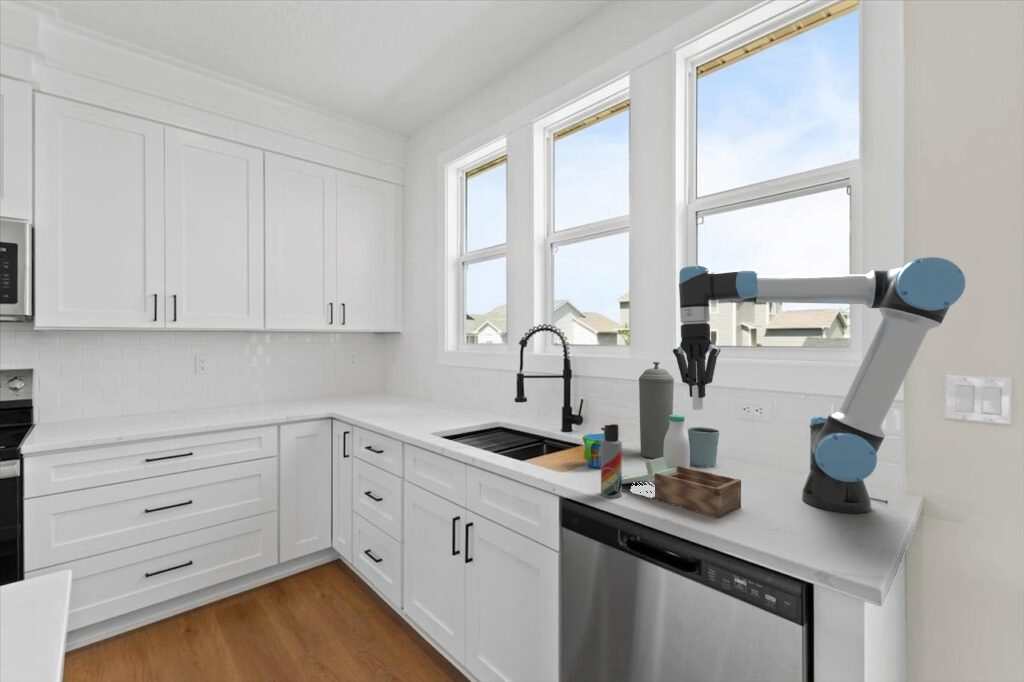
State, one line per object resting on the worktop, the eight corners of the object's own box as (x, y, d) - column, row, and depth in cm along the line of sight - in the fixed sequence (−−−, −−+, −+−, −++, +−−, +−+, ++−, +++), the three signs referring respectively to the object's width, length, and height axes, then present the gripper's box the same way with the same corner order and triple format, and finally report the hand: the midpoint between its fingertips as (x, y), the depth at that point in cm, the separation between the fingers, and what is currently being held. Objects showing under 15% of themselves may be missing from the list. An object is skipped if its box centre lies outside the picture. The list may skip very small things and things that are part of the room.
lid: (676, 472, 139) (671, 455, 140) (656, 478, 133) (651, 461, 134) (632, 478, 151) (628, 463, 152) (612, 485, 144) (608, 468, 145)
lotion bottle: (609, 499, 132) (609, 426, 132) (596, 493, 137) (597, 423, 137) (625, 496, 135) (626, 424, 135) (612, 490, 140) (612, 421, 140)
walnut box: (741, 507, 126) (741, 480, 126) (718, 518, 119) (718, 489, 119) (678, 490, 140) (678, 465, 140) (654, 499, 132) (654, 473, 132)
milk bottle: (691, 484, 146) (691, 417, 146) (664, 482, 148) (665, 417, 147) (687, 476, 154) (687, 413, 153) (662, 475, 155) (662, 413, 155)
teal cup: (682, 460, 174) (682, 427, 173) (709, 459, 175) (709, 426, 175) (696, 468, 164) (696, 432, 163) (725, 467, 165) (725, 432, 164)
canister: (650, 450, 189) (650, 360, 189) (680, 456, 180) (680, 361, 179) (631, 455, 181) (631, 361, 180) (662, 462, 171) (662, 363, 171)
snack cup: (599, 459, 175) (599, 431, 175) (624, 464, 168) (624, 435, 168) (572, 467, 164) (572, 437, 164) (597, 473, 157) (597, 442, 157)
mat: (676, 489, 141) (676, 488, 141) (650, 498, 133) (650, 498, 133) (627, 476, 154) (627, 475, 154) (601, 484, 146) (601, 483, 146)
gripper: (666, 324, 135) (669, 409, 135) (711, 321, 125) (714, 413, 125) (680, 324, 140) (683, 406, 140) (724, 322, 130) (727, 409, 130)
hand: (697, 409), depth 133 cm, fingers closed
